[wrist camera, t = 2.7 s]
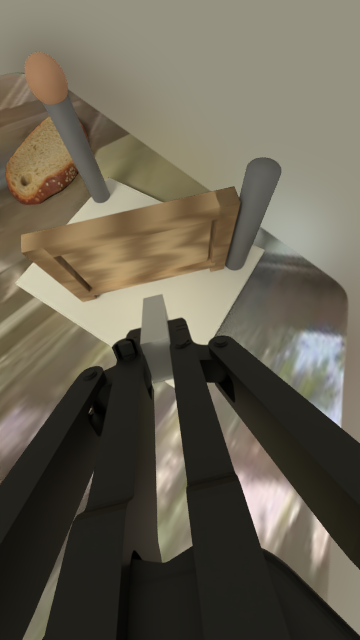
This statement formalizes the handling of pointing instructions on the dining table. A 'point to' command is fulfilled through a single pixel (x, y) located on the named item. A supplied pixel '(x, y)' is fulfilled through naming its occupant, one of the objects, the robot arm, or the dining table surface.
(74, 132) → the gate frame
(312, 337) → the dining table surface
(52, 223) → the dining table surface
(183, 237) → the gate
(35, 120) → the dining table surface
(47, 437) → the robot arm
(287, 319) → the dining table surface
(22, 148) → the slice of bread
